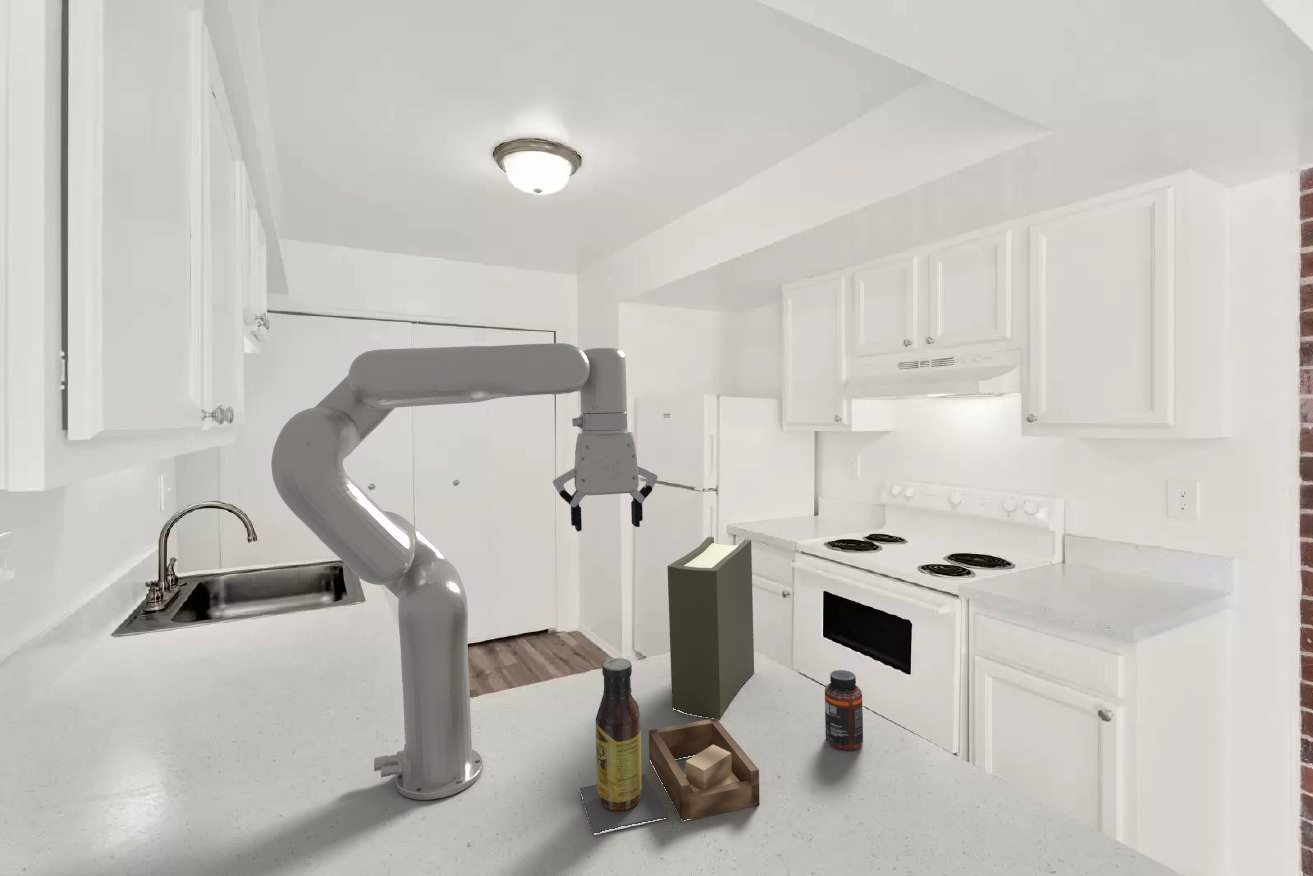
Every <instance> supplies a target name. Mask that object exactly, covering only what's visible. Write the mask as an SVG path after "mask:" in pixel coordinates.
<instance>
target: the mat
mask: <svg viewBox="0 0 1313 876" xmlns="http://www.w3.org/2000/svg"><path fill="white" fill-rule="evenodd" d="M641 778H642V788H641V796H640V800H639V802H638V803H637V805H636V806H634V807H632V808H630V809H628V810H621V811H615V810H608V809H606V808H605V807H604V806H603V805H602V804H601V802H600V800H599V796H598V790H597V783H596V784H592V785H588V786H587V785H586V786H583V787H579V792H580V791H581V794H582V797H583V800H582V802H583V801H584V803H583V806H584V805H585V807H584V809H585V808H586V810H585V812H586V811H587V813H586V816H587V815H588V816H587V818H588V817H589V819H588V821H589V820H590V823H589V825H590V824H591V826H590V828H591V827H592V829H591V831H592V830H593V832H592V834H593V833H600V832H602V831H605V830H609V829H615V828H618V827H621V826H628V825H632V824H638V823H642V822H648V821H653V820H657V819H664V818H667V813H666V811H665V809H664V808H663V805H662V803H661V802H660V799H659V797H658V796H657V794H656V792H655V789H654V788H653V785H652V784H651V781H650V780H649V778H648V776H647V774H641ZM581 794H580V795H581ZM582 797H581V798H582ZM667 819H668V818H667Z"/></svg>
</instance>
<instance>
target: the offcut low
mask: <svg viewBox="0 0 1313 876" xmlns="http://www.w3.org/2000/svg"><path fill="white" fill-rule="evenodd" d="M685 777H686V775H685ZM739 782H740V781H739V780H738V778H737V777H736V776H735V775H734V774H733V773H732V774H730V775H729V776H727V777H726V778H724V779H723V780H721V781H720V782H718V783H717V784H715V785H714V786H712V787H711V788H715V787H720V786H725V785H729V784H734V783H739ZM709 789H710V788H709ZM696 791H701V790H700V789H698V788H697V787H695V786H693V785H691V784H690V793H692V792H696Z"/></svg>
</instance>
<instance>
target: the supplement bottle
mask: <svg viewBox="0 0 1313 876" xmlns="http://www.w3.org/2000/svg"><path fill="white" fill-rule="evenodd" d="M829 677H830V681H829V682H830V683H828V684H827V685H826V686H825V688H824V717H825V718H824V720H825V721H824V723H825V726H824V727H825V728H824V732H825V740H826V742H827V743H828V745H830V746H832V747H833V748H835V749H838V750H842V751H843V750H844V751H845V750H846V751H852V750H856V749H859V748H860V747H861V746H863V743H864V717H863V714H864V713H863V693H862V690H861V689H860V687H859V686H858V685H856V684H857V681H856V680H857V679H856V678H857V677H856V674H855V673H853V672H852V671H850V670H845V669H837V670H835V669H834V670H833V671H831V672H830V676H829Z"/></svg>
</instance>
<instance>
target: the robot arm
mask: <svg viewBox="0 0 1313 876" xmlns="http://www.w3.org/2000/svg"><path fill="white" fill-rule="evenodd" d="M575 392H580V394H579V395H580V413H581V414H579V415H580V416H577V417H572V420H571V421H572V422H571V423H572V427H577V428H579V429H580V431H581V432H579V433H577V437H576V444H575V450H574V451H575V453H574V467H573V468H571V469H570V470H568V471H567V472H565V473H563V474H561V475H559V476H558V477H555V478H554V479H553V480H552V484H553V486H554V487H555V489H556V491H557V492H558V495H559V497H561V498H562V499H563V500H564V501H565V502H566V503H567V504H568V505H569V506H570V524H571V526H572V527H574V529H575V530H576V532H581V531H582V530H583V528H582V527H583V525H582V524H583V523H582V507H581V506H580V503H581V501H582V500H583V499H584V498H585V496H602V495H603V496H604V495H619V494H629V495H630V496H631V497H632V501H631V502H630V508H631V510H630V512H631V514H630V515H631V524H632V525H633V526H634V527H636V528H640V526H641V524H640V523H641V522H643V521H644V520H643V518H644V517H643V503H644V502H645V500H646V499H647V497H648V496H649V495H650V494H652V491H653V488H654V487H655V484H656V483H657V481H658V475H657V474H655V473H653V472H651V471H649V470H647V469H645V468H642V467H640V466H638V457H637V448H636V443H635V437H634V434H633V433H634V432H633V431H628V401H627V400H628V399H627V398H628V397H627V396H628V395H627V363H626V355H625V352H624V351H622V350H621V349H619V348H614V347H595V348H594V347H592V348H587V349H585V350H583V351H582V349H581V348H579V347H578V346H576V345H573V344H570V343H565V342H564V343H563V342H559V343H558V342H555V343H553V342H552V343H530V344H529V343H528V344H527V343H525V344H506V345H504V344H503V345H467V346H465V345H464V346H447V347H446V346H445V347H441V346H439V347H419V348H417V347H416V348H415V347H414V348H413V347H412V348H409V347H408V348H385V349H383V348H382V349H372V350H368V351H365V352H363V353H361V354H359V355H358V356H356V357H355V359H354V360H353V361H352V363H351V365H350V367H349V370H348V374H347V376H345V377H344V379H342V380H341V382H340V383H338V384H337V385H336V387H334V388H333V389H332V390H331V391H330V392H329V393H328V394H327V395H326V396H324V398H322V400H321V401H320V402H318V403H317V404H316V405H315V406H314V407H310V408H305V409H303V410H301V411H299V412H297V413H296V414H294V415H293V416H291V418H289V419H288V421H287V422H286V423H285V424H284V426H283V427H282V428H281V430H280V432H279V434H278V436H277V439H276V441H275V443H274V446H273V449H272V450H273V451H272V455H271V474H272V475H271V476H272V479H273V480H272V481H273V483H274V486H275V488H276V490H277V493H278V494H279V496H280V498H281V500H282V501H283V502H284V504H286V505H285V506H287V507H288V508H289V509H290V511H291V512H292V513H293V514H294V516H296V517H297V518H298V519H299V520H300V521H301V522H302V523H303V524H304V525H305V526H306V527H308V528H309V530H310V531H312V533H314V535H316V537H317V538H318V539H319V540H320V542H321V543H323V544H324V545H325V546H326V547H327V548H328V549H330V550H331V551H332V552H333V554H334V555H336V556H337V558H339V559H340V560H341V561H342V562H343V563H344V565H346V567H348V569H350V571H351V572H353V574H354V575H356V577H358V578H359V579H360V580H361V581H364V582H366V583H368V584H371V585H372V584H373V585H377V586H385V588H386V589H388V590H389V591H390V592H391V593H392V594H393V595H394V596H395V597H396V598H398V599H397V600H398V605H397V606H398V608H397V609H398V610H397V611H398V616H397V618H398V631H399V644H400V645H399V647H400V663H401V683H402V701H403V720H404V721H403V722H404V723H403V724H404V742H405V743H404V746H403V750H399V751H397V752H396V754H391V755H382V756H381V755H380V756H375V757H374V759H373V770H374V772H379V771H380V777H381V778H386V777H390V776H394V775H395V787H396V790H397V791H398V792H399V794H401V795H402V796H404V797H405V798H406V797H407V798H409V799H413V800H420V801H422V800H423V801H428V800H430V801H431V800H437V799H444V798H446V797H450V796H453V795H455V794H457V793H459V792H462V791H465V789H467V788H469V787H470V786H471V785H473V784H474V783H475V782H476V781H477V780H478V779H479V778H480V776H481V775H480V774H482V773H481V772H483V770H482V769H484V760H483V757H482V755H481V754H480V753H479V752H478V751H476V750H474V749H473V748H472V747H473V746H472V745H473V744H472V743H473V742H472V723H471V722H472V720H471V698H470V697H471V696H470V695H471V693H470V692H471V691H470V690H471V689H470V673H469V672H470V671H469V649H468V644H469V643H468V640H469V638H468V630H469V607H468V606H469V603H468V599H467V593H466V589H465V587H464V584H463V582H462V580H461V576H460V574H459V572H458V571H457V569H456V568H455V566H454V565H453V564H452V563H451V562H450V561H449V560H448V559H447V558H446V557H445V556H444V555H443V554H442V553H441V552H440V551H439V549H437V547H435V546H434V544H432V543H431V541H429V540H428V539H427V538H426V537H425V536H424V535H423V534H422V533H421V531H419V530H418V529H417V528H416V527H415V526H414V525H413V524H412V523H411V522H410V521H408V520H407V519H406V517H404V516H402V515H400V514H397V513H396V512H393V511H387V510H386V511H385V510H383V509H382V508H381V507H380V506H379V505H378V504H377V503H376V502H375V501H374V500H372V498H371V497H369V495H368V494H367V493H366V492H365V491H364V489H362V488H361V486H360V485H358V484H357V483H356V482H354V481H353V479H351V477H350V476H348V474H347V473H346V471H345V468H344V467H345V466H344V463H343V462H344V461H345V459H346V458H347V457H348V456H349V455H350V454H351V453H352V452H353V451H354V450H355V449H356V448H357V447H358V446H360V444H361V443H363V442H364V440H365V439H366V438H367V437H368V436H369V435H370V434H372V432H373V431H374V430H375V429H377V427H378V426H380V425H381V423H382V422H384V421H385V420H386V418H388V416H389V415H390V414H391V413H392V412H393V411H394V410H395V409H396V408H406V407H407V408H409V407H423V406H424V407H425V406H437V405H438V406H442V405H455V404H471V403H472V404H473V403H481V402H487V401H490V400H495V399H501V398H510V397H513V398H515V397H522V396H523V397H524V396H525V397H527V396H542V395H553V396H555V395H563V394H565V395H567V394H572V393H575ZM639 476H641V477H642V478H643V477H644V478H645V479H646V481H645V484H644V486H643V487H642V488H641V489H640V490H639V487H640V486H639V485H640V483H639V482H640V481H639V478H640V477H639ZM573 479H574V487H575V491H574V492H573V493H572V494H570V493H569V492H568V491H567V489H566V488H565V486H564V485H565V484H566V483H568V482H569V481H571V480H573ZM477 778H478V779H477Z"/></svg>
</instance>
